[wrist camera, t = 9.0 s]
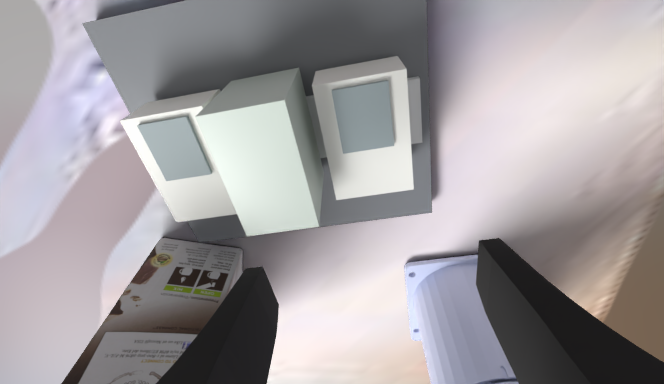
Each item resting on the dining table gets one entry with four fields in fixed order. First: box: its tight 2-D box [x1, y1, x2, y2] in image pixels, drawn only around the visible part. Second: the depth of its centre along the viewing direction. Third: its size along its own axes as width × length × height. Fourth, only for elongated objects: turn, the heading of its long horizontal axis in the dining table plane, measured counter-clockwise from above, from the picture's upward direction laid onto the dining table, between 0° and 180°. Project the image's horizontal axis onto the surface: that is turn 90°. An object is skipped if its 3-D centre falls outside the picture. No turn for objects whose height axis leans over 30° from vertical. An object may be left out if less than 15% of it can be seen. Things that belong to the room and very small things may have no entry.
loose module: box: [195, 68, 324, 237], centre depth 16 cm, size 6×4×5 cm, turn 11°
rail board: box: [82, 0, 432, 243], centre depth 18 cm, size 14×16×4 cm
